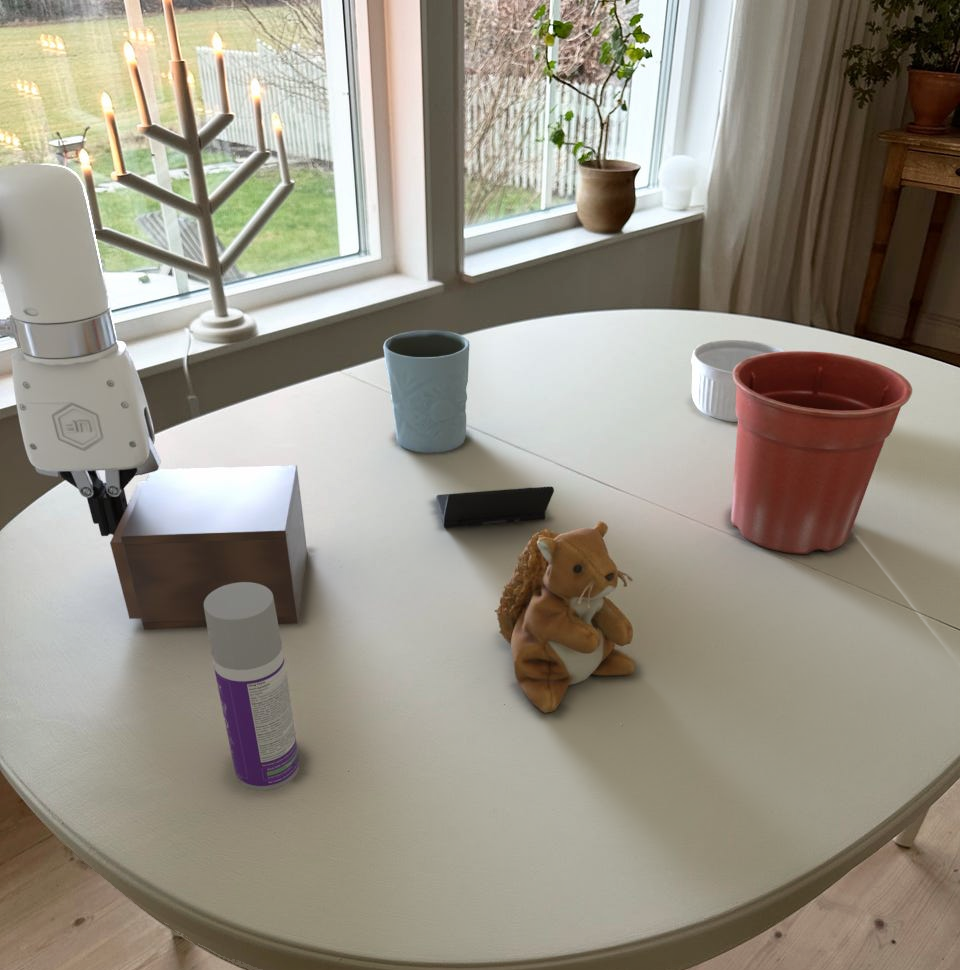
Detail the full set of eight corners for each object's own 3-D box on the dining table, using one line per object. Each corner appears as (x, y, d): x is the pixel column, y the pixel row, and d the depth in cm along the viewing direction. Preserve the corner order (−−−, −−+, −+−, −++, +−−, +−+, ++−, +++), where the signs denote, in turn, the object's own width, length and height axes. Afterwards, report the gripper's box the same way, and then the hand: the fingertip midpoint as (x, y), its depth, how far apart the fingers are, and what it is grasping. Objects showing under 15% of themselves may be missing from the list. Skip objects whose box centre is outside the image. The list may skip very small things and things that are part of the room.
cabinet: (143, 630, 85) (120, 536, 79) (169, 557, 95) (150, 469, 89) (298, 624, 86) (285, 530, 80) (307, 552, 96) (297, 465, 90)
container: (223, 767, 71) (188, 598, 62) (277, 738, 73) (250, 573, 64) (257, 801, 68) (225, 629, 59) (312, 770, 70) (289, 601, 62)
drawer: (115, 619, 85) (95, 543, 80) (142, 553, 94) (125, 482, 89) (271, 613, 86) (260, 537, 81) (282, 548, 95) (273, 477, 90)
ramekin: (805, 406, 127) (815, 354, 123) (756, 436, 119) (766, 382, 115) (717, 381, 134) (724, 332, 130) (666, 409, 126) (672, 357, 122)
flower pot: (685, 498, 106) (706, 355, 96) (821, 484, 108) (854, 344, 99) (749, 575, 93) (780, 418, 83) (902, 558, 95) (949, 404, 86)
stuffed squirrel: (547, 723, 75) (555, 581, 67) (463, 632, 85) (462, 499, 77) (649, 685, 79) (669, 547, 71) (557, 602, 89) (565, 473, 81)
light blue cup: (452, 461, 113) (450, 362, 106) (374, 448, 116) (368, 351, 109) (481, 428, 121) (481, 334, 114) (408, 417, 124) (404, 324, 117)
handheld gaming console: (524, 472, 107) (538, 429, 97) (547, 529, 105) (563, 492, 96) (427, 501, 105) (431, 460, 95) (448, 560, 103) (455, 524, 94)
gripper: (-44, 349, 75) (19, 552, 86) (150, 346, 76) (189, 546, 87) (-12, 320, 81) (43, 512, 92) (167, 317, 82) (201, 507, 93)
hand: (114, 528), depth 89 cm, fingers closed
